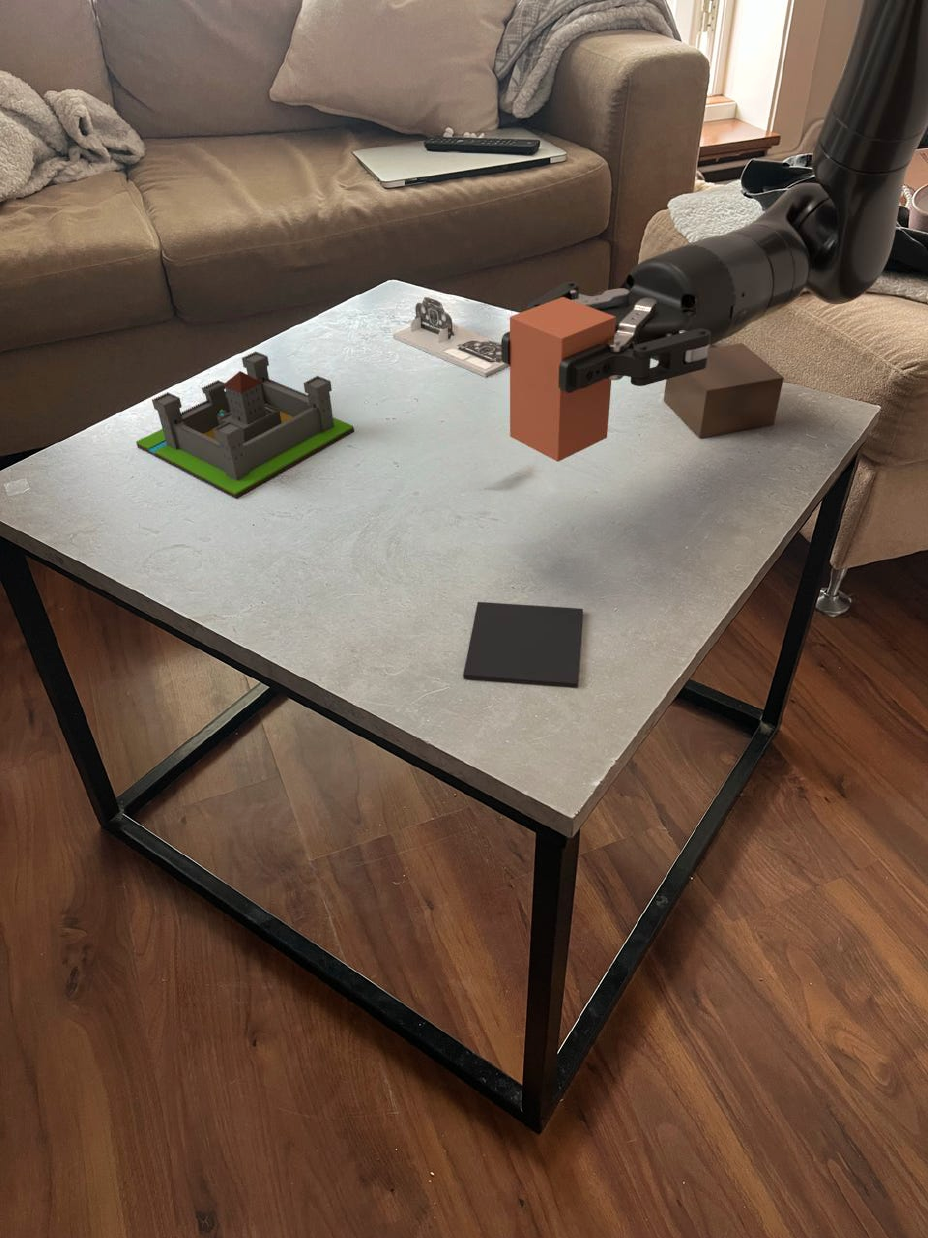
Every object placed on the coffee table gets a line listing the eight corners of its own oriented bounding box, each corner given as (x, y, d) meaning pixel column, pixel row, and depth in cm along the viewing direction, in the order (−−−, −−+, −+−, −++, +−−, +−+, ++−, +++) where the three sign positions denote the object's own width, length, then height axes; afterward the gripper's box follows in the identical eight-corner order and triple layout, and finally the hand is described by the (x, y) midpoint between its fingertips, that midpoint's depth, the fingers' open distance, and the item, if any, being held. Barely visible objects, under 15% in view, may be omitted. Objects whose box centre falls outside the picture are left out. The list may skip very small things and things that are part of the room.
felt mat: (582, 612, 70) (582, 608, 70) (577, 687, 64) (577, 683, 64) (477, 605, 71) (477, 601, 71) (463, 678, 65) (463, 674, 65)
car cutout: (393, 337, 108) (389, 300, 105) (434, 319, 111) (432, 282, 108) (485, 377, 100) (484, 337, 97) (526, 356, 103) (527, 317, 100)
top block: (558, 414, 70) (562, 296, 64) (607, 437, 67) (616, 316, 61) (509, 436, 67) (509, 316, 62) (557, 462, 64) (562, 338, 59)
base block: (734, 388, 96) (742, 342, 93) (774, 424, 90) (784, 377, 87) (663, 400, 94) (668, 354, 91) (699, 438, 89) (706, 390, 85)
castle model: (236, 498, 83) (219, 424, 78) (137, 446, 91) (116, 376, 86) (354, 431, 92) (345, 360, 87) (255, 388, 99) (241, 321, 94)
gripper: (629, 223, 72) (461, 280, 64) (787, 269, 63) (616, 342, 55) (622, 317, 76) (465, 382, 68) (768, 372, 68) (608, 453, 60)
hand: (533, 363), depth 62 cm, fingers closed on top block, 5 cm apart
